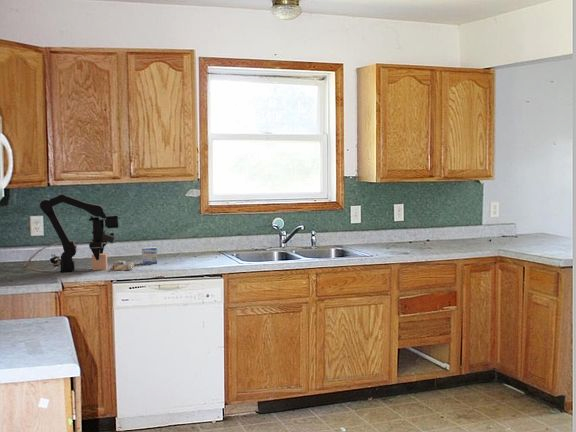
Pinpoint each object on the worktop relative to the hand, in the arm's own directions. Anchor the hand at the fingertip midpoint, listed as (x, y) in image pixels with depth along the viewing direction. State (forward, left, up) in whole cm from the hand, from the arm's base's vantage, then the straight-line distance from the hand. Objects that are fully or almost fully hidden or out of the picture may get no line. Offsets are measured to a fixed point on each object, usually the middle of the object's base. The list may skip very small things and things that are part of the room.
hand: (99, 258), depth 359 cm
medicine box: (+24, +14, -6) cm, 29 cm away
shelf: (+12, 0, -6) cm, 13 cm away
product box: (0, 0, -6) cm, 6 cm away
